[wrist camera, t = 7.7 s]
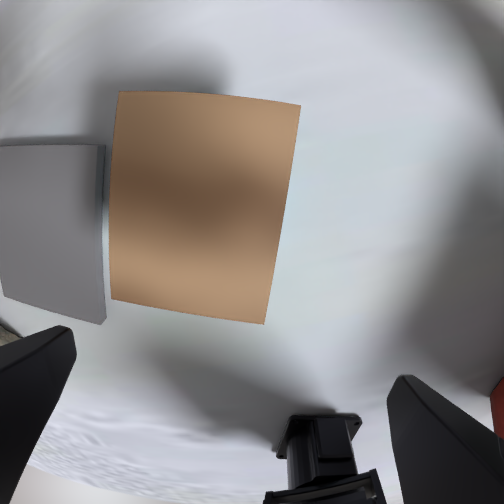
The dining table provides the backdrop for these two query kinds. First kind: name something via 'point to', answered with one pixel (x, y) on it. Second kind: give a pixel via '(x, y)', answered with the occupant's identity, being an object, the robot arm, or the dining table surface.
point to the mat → (53, 228)
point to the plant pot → (498, 409)
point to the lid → (198, 201)
